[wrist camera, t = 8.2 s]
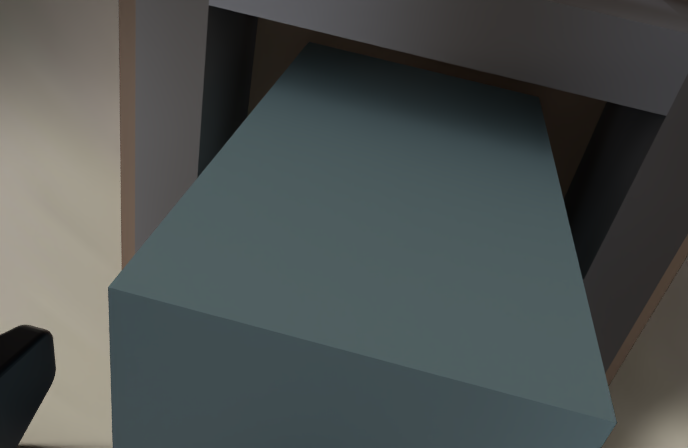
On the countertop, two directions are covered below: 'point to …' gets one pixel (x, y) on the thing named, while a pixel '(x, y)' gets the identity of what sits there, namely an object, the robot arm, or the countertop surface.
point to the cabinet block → (363, 278)
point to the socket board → (454, 60)
